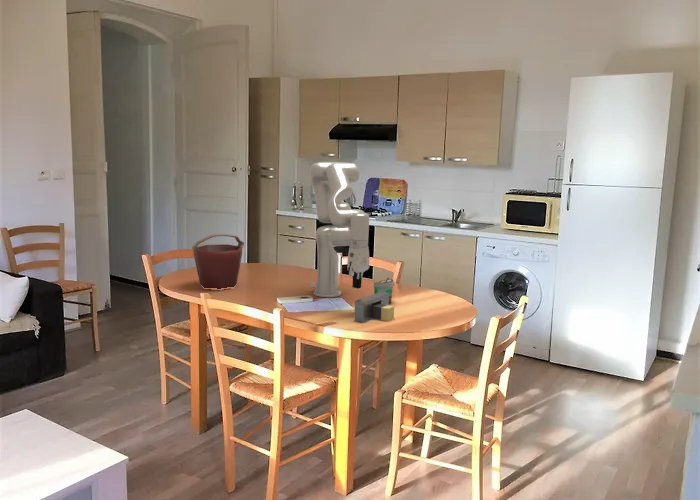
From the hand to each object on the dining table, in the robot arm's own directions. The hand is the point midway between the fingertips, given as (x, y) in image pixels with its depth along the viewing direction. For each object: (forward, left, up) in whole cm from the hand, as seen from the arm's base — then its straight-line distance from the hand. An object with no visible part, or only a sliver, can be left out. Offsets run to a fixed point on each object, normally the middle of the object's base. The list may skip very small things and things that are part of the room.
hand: (356, 287), depth 251 cm
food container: (+2, +21, -11) cm, 24 cm away
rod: (+9, 0, -11) cm, 14 cm away
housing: (+8, -1, -11) cm, 13 cm away
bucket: (-76, -1, -11) cm, 77 cm away
